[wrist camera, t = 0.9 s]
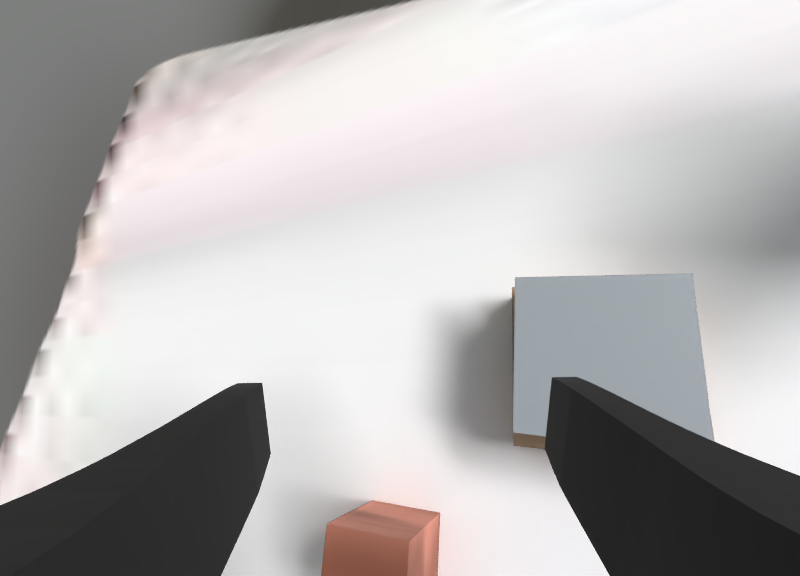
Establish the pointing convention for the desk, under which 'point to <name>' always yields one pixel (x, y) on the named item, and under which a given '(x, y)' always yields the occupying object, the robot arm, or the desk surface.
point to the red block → (382, 542)
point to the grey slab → (610, 345)
